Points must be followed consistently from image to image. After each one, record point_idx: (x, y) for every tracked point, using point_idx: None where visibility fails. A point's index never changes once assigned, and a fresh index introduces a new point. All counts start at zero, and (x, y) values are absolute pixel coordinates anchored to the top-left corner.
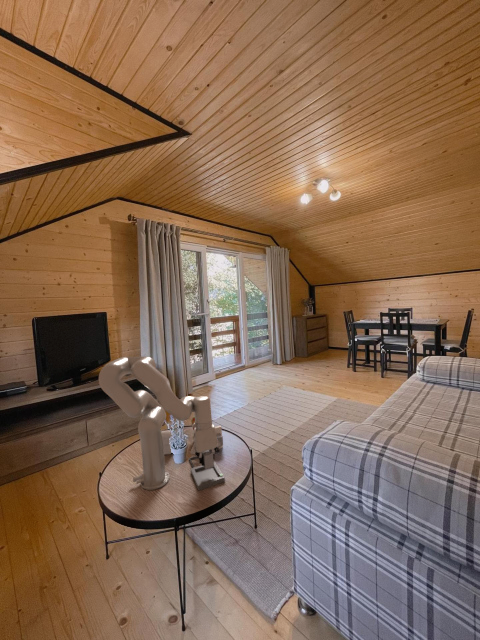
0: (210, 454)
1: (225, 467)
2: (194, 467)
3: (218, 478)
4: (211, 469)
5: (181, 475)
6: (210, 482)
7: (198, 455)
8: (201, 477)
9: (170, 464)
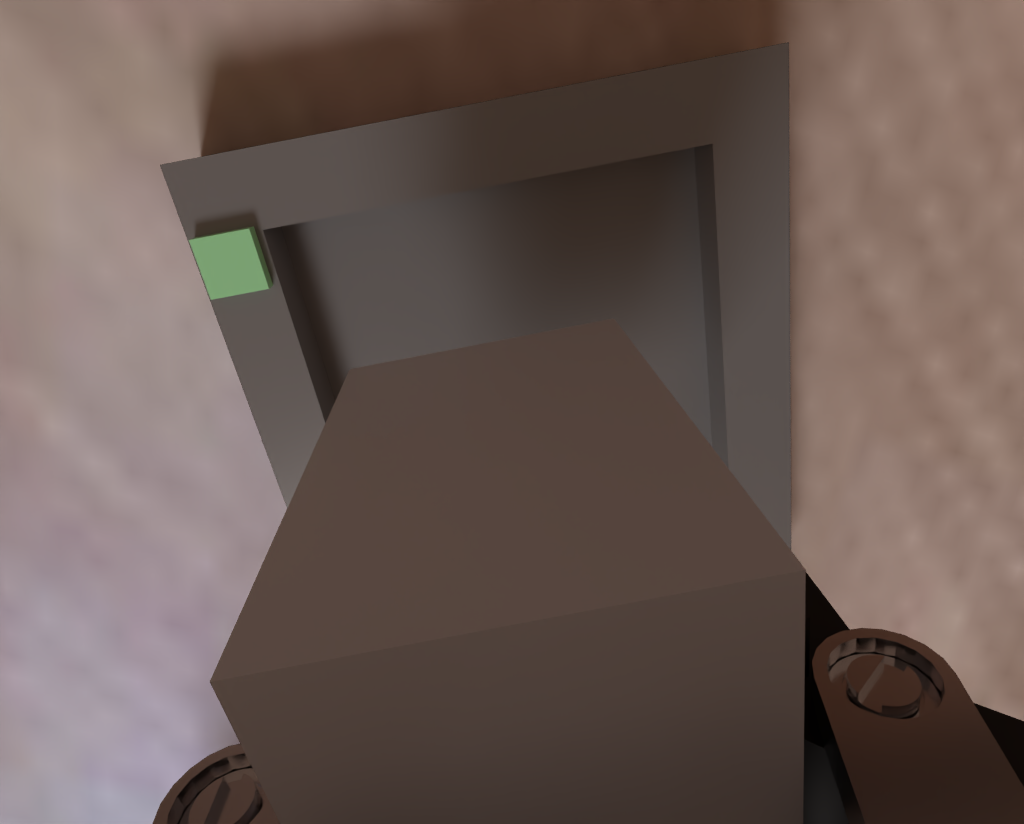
0: (383, 646)
1: (189, 553)
2: None
3: (306, 173)
4: None
5: (909, 554)
6: (500, 101)
7: (1003, 749)
8: None
9: None
